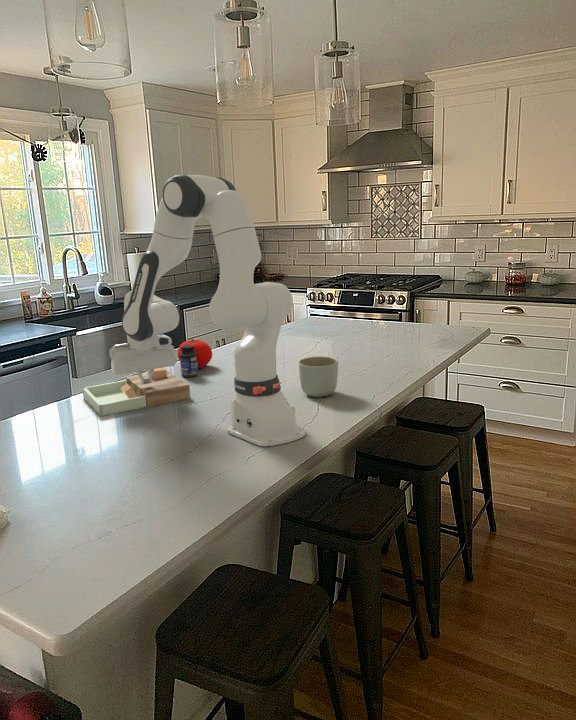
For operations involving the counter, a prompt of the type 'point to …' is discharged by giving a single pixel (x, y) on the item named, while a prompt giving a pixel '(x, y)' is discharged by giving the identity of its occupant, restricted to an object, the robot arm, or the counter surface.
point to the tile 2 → (159, 373)
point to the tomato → (199, 351)
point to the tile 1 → (128, 391)
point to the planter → (318, 375)
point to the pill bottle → (188, 361)
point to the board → (160, 389)
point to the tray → (111, 398)
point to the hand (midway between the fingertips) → (146, 383)
